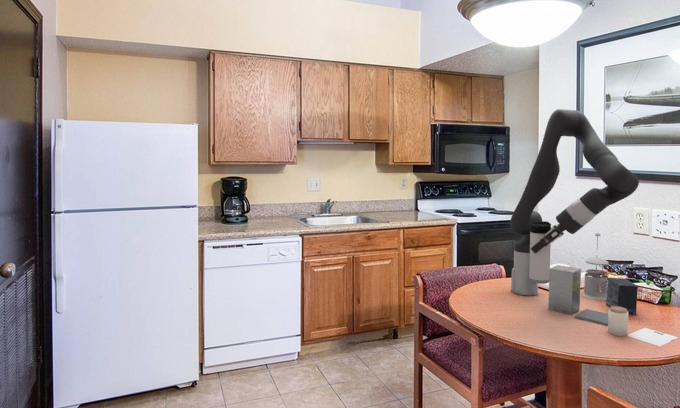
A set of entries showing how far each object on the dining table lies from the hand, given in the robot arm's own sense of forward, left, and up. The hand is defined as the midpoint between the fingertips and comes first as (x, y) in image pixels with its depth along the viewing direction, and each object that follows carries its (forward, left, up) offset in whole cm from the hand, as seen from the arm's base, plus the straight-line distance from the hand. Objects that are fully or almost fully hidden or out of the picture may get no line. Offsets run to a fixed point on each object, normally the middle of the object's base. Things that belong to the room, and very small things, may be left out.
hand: (535, 249), depth 149 cm
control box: (+4, +16, -24) cm, 29 cm away
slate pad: (+15, +15, -24) cm, 32 cm away
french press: (+6, +42, -24) cm, 49 cm away
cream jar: (+24, +6, -24) cm, 34 cm away
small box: (+18, +30, -24) cm, 43 cm away
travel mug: (+2, +1, -11) cm, 11 cm away
